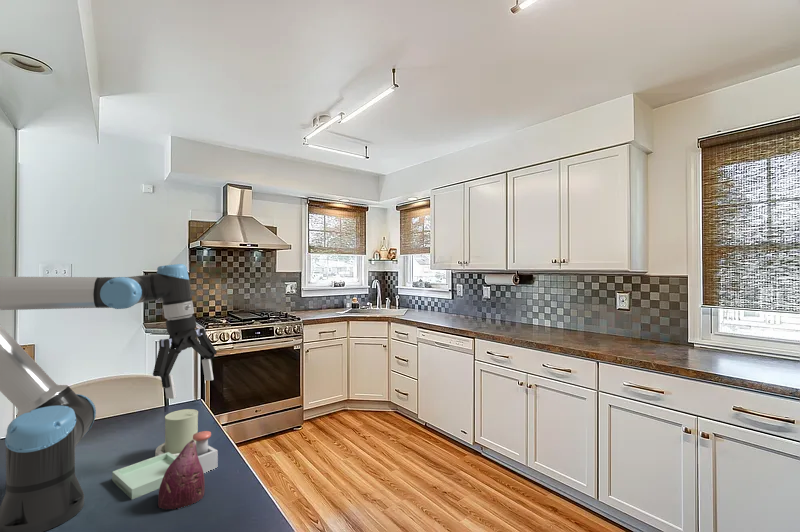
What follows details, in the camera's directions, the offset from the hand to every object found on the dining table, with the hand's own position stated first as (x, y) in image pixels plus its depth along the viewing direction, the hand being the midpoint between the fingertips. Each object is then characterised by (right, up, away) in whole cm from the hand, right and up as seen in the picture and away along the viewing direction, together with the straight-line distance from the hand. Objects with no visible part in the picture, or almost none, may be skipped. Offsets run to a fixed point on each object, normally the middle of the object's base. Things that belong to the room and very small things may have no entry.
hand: (191, 388), depth 114 cm
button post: (+5, -22, -4) cm, 23 cm away
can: (-7, -22, +7) cm, 24 cm away
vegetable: (+7, -22, -17) cm, 29 cm away
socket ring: (-7, -22, +7) cm, 24 cm away
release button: (+5, -18, -4) cm, 19 cm away
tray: (-6, -22, -8) cm, 24 cm away
